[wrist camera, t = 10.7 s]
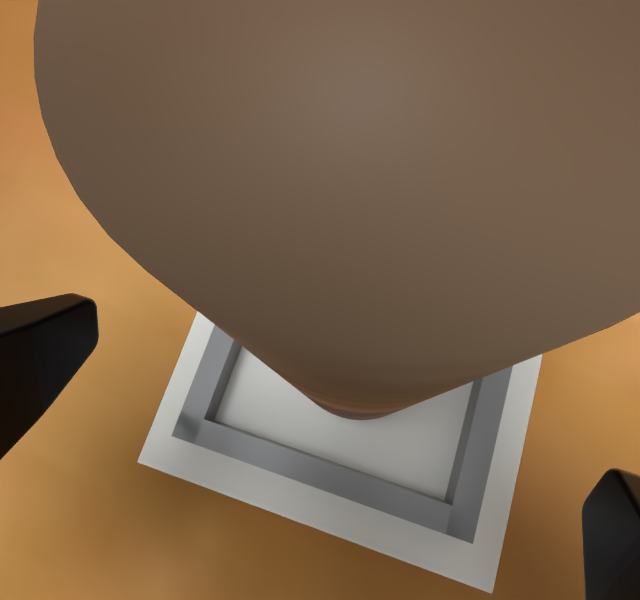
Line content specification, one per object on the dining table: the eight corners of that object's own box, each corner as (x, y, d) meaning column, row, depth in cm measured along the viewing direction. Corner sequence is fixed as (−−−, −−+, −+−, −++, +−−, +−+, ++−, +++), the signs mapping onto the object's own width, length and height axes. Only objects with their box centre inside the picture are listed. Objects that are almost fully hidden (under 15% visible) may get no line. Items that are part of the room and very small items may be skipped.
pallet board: (483, 584, 15) (504, 608, 13) (148, 460, 17) (120, 464, 15) (595, 62, 20) (624, 19, 18) (329, 6, 22) (326, -40, 20)
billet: (457, 386, 16) (1027, 151, 3) (320, 443, 16) (152, 518, 2) (396, 258, 17) (557, -338, 4) (269, 309, 17) (-27, -137, 4)
